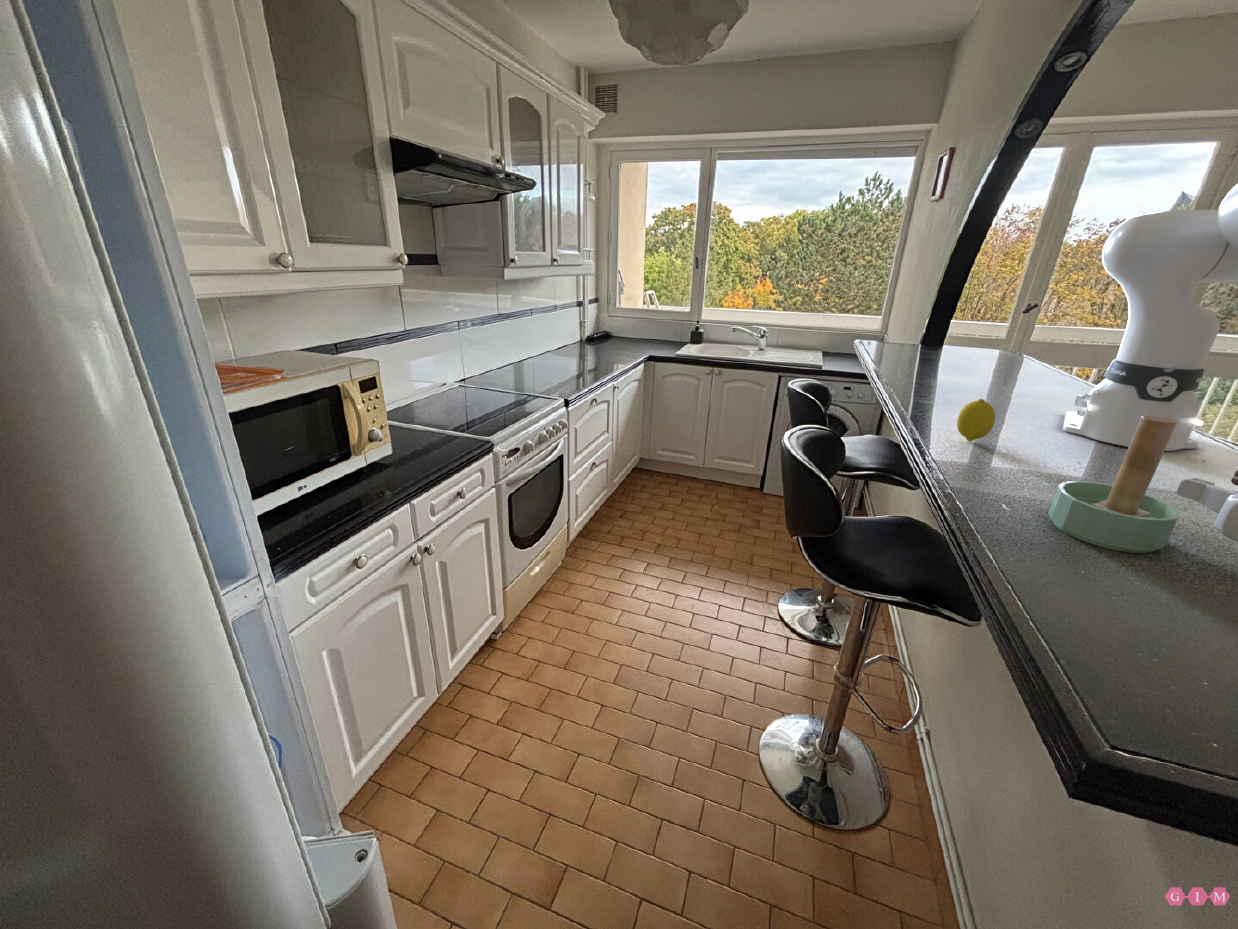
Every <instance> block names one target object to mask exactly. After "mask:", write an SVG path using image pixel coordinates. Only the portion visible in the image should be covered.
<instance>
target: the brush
mask: <svg viewBox="0 0 1238 929" xmlns="http://www.w3.org/2000/svg"><path fill="white" fill-rule="evenodd" d="M1176 424H1177V421H1175V420H1172V419H1168V418H1163V417H1157V416H1142V417H1141V419H1140V422H1139V424H1138V426H1137V429H1136V431H1135V434H1134V436H1133V438H1132V441H1131V443H1130V446H1129V447H1127V451H1126V453H1125V455H1124V458H1123V460H1122V463H1121V465H1120V468H1119V470H1118V472H1117V474H1116V477H1115V479H1114V482H1113V484H1112V485H1113V486H1112V489H1111V491H1110V494H1109V496H1108V498H1107V500H1105V501H1101V502H1097V503H1093V504H1091V505H1092V506H1095V507H1098V508H1102V509H1105V510H1109V511H1112V512H1116V513H1120V514H1126V515H1131V516H1137V517H1144V518H1149V517H1150V515H1151V513H1150V512H1147V511H1144V510H1141V509H1139V507H1140V504H1141V502H1142V500H1143V498H1144V496H1145V494H1147V491H1148V489H1149V487H1150V484H1151V482H1152V479H1153V478H1154V475H1155V473H1156V470H1157V468H1158V466H1159V464H1160V461H1161V459H1162V458H1163V455H1164V453H1165V449H1166V446H1167V444H1168V442H1169V440H1170V437H1171V435H1172V433H1173V431H1174V428H1175V426H1176Z"/></svg>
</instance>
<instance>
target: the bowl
mask: <svg viewBox="0 0 1238 929" xmlns="http://www.w3.org/2000/svg"><path fill="white" fill-rule="evenodd" d="M1112 486H1113V484H1109V483H1102V482H1097V481H1086V480H1070V481H1063V482H1061V483H1060V484H1059V485H1057V489H1056V491H1055V494H1054V496H1053V498H1052V502H1051V504H1050V507H1049V510H1048V513H1047V514H1048V516H1049V519H1050V521H1051V522H1052V524H1053V525H1054V526H1055V527H1056V528H1057V529H1059V530H1060V531H1061V532H1063V533H1065V534H1067V535H1069V536H1071V537H1073V538H1075V539H1077V540H1080V541H1083V542H1085V543H1088V544H1090V545H1094V546H1097V547H1101V548H1105V549H1108V550H1113V551H1119V552H1124V553H1132V554H1148V553H1152V552H1155V551H1158V550H1163V549H1165V547H1166V545H1167V543H1168V541H1169V539H1170V537H1171V535H1172V533H1173V530H1174V529H1175V526H1176V524H1177V523H1178V520H1179V518H1180V516H1181V512H1180V511H1179V510H1178V509H1177V508H1176V507H1175V506H1174V505H1172V504H1171V503H1168V502H1166V501H1165V500H1162V499H1160V498H1159V497H1155V496H1153V495H1150V494H1147V493H1145V496H1144V498H1143V500H1142V502H1141V504H1140V507H1139V509H1141V510H1144V511H1147V512H1150V513H1151V515H1150V517H1149V518H1144V517H1137V516H1131V515H1126V514H1120V513H1116V512H1112V511H1109V510H1105V509H1102V508H1098V507H1095V506H1092V505H1091V504H1093V503H1097V502H1101V501H1105V500H1107V498H1108V496H1109V494H1110V491H1111V489H1112Z"/></svg>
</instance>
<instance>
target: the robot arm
mask: <svg viewBox="0 0 1238 929" xmlns="http://www.w3.org/2000/svg"><path fill="white" fill-rule="evenodd" d="M1101 261H1102V265H1103V267H1104V269H1105V271H1106V272H1107V273H1108V275H1110V276H1111V277H1112V278H1113V279H1115V281H1116V282H1118V284H1119V285H1120V286H1121V288H1122V290H1123V291H1124V293H1125V296H1126V299H1127V303H1128V320H1127V324H1126V327H1125V330H1124V335H1123V338H1122V340H1121V344H1120V346H1119V349H1118V352H1117V355H1116V358H1114V359H1113V360H1112V361H1111V363H1110V365H1109V366H1107V368H1106V372H1105V374H1104V376H1103V377H1104V379H1103V380H1102V381H1101V382H1099V383H1098V384H1097V385H1096V386H1094V388H1092V389H1091V390H1090V391H1089V392H1088V393H1084V394H1077V395H1076V397H1075V401H1074V405H1073V406H1074V407H1079V409H1078V410H1077V411H1067V412H1066V414H1065V415H1064V420H1063V425H1062V431H1064V432H1068V433H1072V434H1074V435H1075V434H1076V435H1080V436H1083V437H1087V438H1090V439H1093V440H1096V441H1100V442H1104V443H1106V444H1107V443H1108V444H1112V445H1117V446H1121V447H1127V448H1129V446H1130V443H1131V441H1132V438H1133V436H1134V434H1135V431H1136V429H1137V426H1138V424H1139V422H1140V419H1141V417H1142V416H1157V417H1163V418H1168V419H1172V420H1175V421H1177V424H1176V426H1175V428H1174V431H1173V433H1172V435H1171V437H1170V440H1169V442H1168V444H1167V446H1166V449H1165V451H1166V452H1171V451H1173V452H1174V451H1179V450H1182V449H1197V446H1198V442H1197V441H1196V440H1193V439H1191V438H1190V437H1191V435H1192V433H1193V432H1192V431H1193V429H1194V427H1195V426H1198V427H1202V426H1203V424H1204V421H1203V420H1201V419H1198V415H1199V413H1200V410H1201V407H1202V401H1201V400H1200V399H1199V398H1198V397H1197V396H1196V395H1195V393H1194V392H1195V390H1197V389H1198V388H1199V386H1200V383H1201V382H1202V381H1203V378H1204V373H1205V369H1204V368H1203V367H1204V366H1205V363H1206V360H1207V359H1208V356H1209V354H1210V352H1211V349H1212V347H1213V345H1214V342H1215V340H1216V338H1217V336H1218V334H1219V332H1220V327H1221V326H1220V324H1221V323H1220V322H1219V321H1220V320H1219V319H1218V317H1217V315H1216V314H1214V313H1213V311H1211V310H1209V309H1208V308H1206V307H1204V306H1202V305H1200V304H1198V303H1196V302H1195V300H1194V298H1193V293H1192V291H1193V287H1194V286H1193V285H1194V283H1211V284H1212V283H1213V284H1214V283H1217V284H1218V283H1219V284H1223V283H1224V284H1238V183H1237V184H1236V185H1234V186H1233V187H1232V188H1231V189H1230V191H1228V193H1226V195H1225V197H1224V198H1223V200H1222V201H1221V203H1220V205H1219V207H1218V209H1179V210H1178V209H1173V210H1169V209H1168V210H1163V211H1162V210H1161V211H1156V212H1150V213H1145V214H1140V215H1135V216H1131V217H1129V218H1127V219H1126V220H1124V221H1123V222H1122V223H1121V224H1119V225H1118V226H1117V227H1116V228H1115V229H1114V230H1113V231H1111V233H1110V235H1108V238H1107V239H1106V241H1105V243H1104V245H1103V248H1102V252H1101ZM1165 451H1164V452H1165ZM1230 482H1231V484H1232V485H1234V486H1237V487H1238V469H1237V470H1235V472H1234V474H1233V476H1232V478H1231V479H1230ZM1176 493H1177V495H1178V496H1180V497H1182V498H1185V499H1188V500H1192V501H1194V502H1197V503H1199V504H1200V505H1202V506H1204V507H1206V508H1208V509H1209V510H1211V511H1212V512H1214V513H1216V514H1218V515H1217V517H1216V519H1215V521H1214V523H1213V527H1214V529H1215V530H1217V532H1219V533H1221V534H1222V535H1223V536H1225V537H1227V538H1228V539H1230V540H1232V541H1235V542H1237V543H1238V490H1228V489H1226V488H1222V487H1220V486H1217V485H1216V483H1215V482H1212V481H1208V480H1203V479H1201V478H1198V477H1196V478H1195V477H1193V478H1186V479H1183V480H1181V481H1180V483H1179V486H1178V487H1177V489H1176Z"/></svg>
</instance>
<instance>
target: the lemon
mask: <svg viewBox="0 0 1238 929" xmlns="http://www.w3.org/2000/svg"><path fill="white" fill-rule="evenodd" d="M995 422H996V412H995V409H994V407H993V406H992V405H991V404H990V403H989V402H987V401H986V400H985V399H983V398H979V399H977V400H972V401H970V402H968V403H967V404H965V405H964V406H963V407H962V408H961V410H960V412H959V413H958V416H957V419H956V428H957V431H958V432H959V434H960V435H961V436H962V437H964V438H965V439H966V441H968V442H973V441H975V440H979V439H981V438H985V437H986V436H988V435H989V434H990V432H991V431H992V429H993V428H994V425H995Z"/></svg>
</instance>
